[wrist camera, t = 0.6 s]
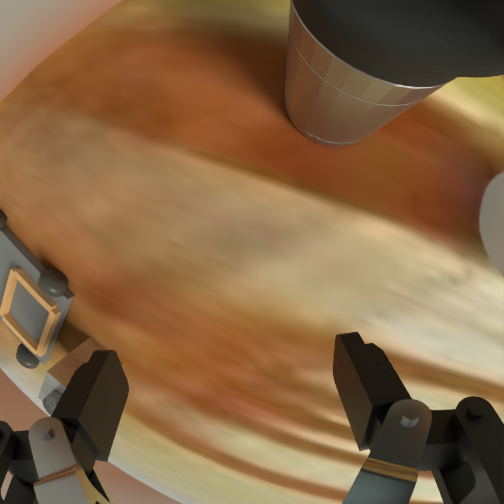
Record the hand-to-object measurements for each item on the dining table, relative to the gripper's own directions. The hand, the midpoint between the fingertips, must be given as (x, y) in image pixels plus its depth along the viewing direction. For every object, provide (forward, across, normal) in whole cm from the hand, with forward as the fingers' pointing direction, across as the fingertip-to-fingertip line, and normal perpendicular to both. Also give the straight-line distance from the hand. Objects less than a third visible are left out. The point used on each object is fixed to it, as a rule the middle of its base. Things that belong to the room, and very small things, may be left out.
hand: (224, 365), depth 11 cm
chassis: (+22, +30, +6) cm, 38 cm away
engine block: (+19, +18, +16) cm, 31 cm away
